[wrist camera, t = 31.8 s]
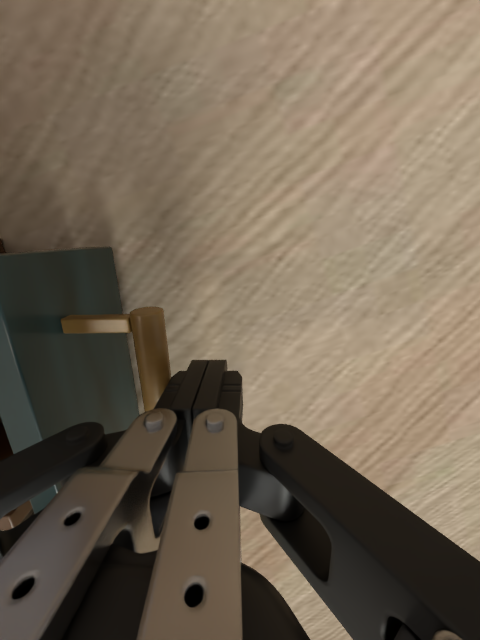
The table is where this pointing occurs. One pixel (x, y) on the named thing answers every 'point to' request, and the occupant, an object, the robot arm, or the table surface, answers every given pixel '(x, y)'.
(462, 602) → the robot arm
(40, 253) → the drawer
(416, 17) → the table surface
